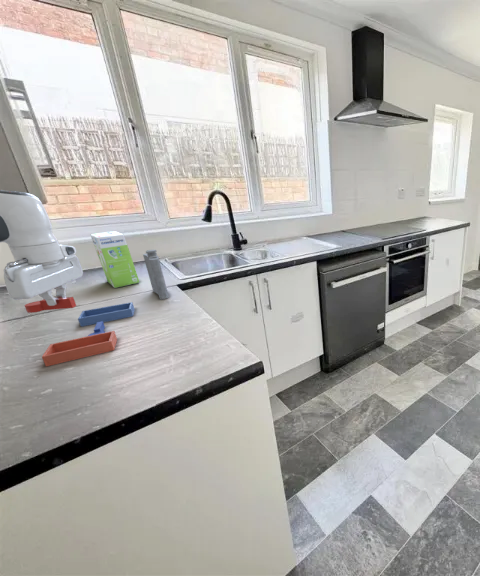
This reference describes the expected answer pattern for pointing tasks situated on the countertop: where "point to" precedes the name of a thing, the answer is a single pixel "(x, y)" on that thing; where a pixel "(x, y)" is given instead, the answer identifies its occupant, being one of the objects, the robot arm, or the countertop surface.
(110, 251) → the cleaning wipes box
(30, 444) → the countertop surface
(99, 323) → the blue spoon
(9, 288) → the robot arm
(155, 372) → the countertop surface
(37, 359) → the countertop surface
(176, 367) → the countertop surface
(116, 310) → the blue tray
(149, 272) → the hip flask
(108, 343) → the red tray
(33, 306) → the red spoon
